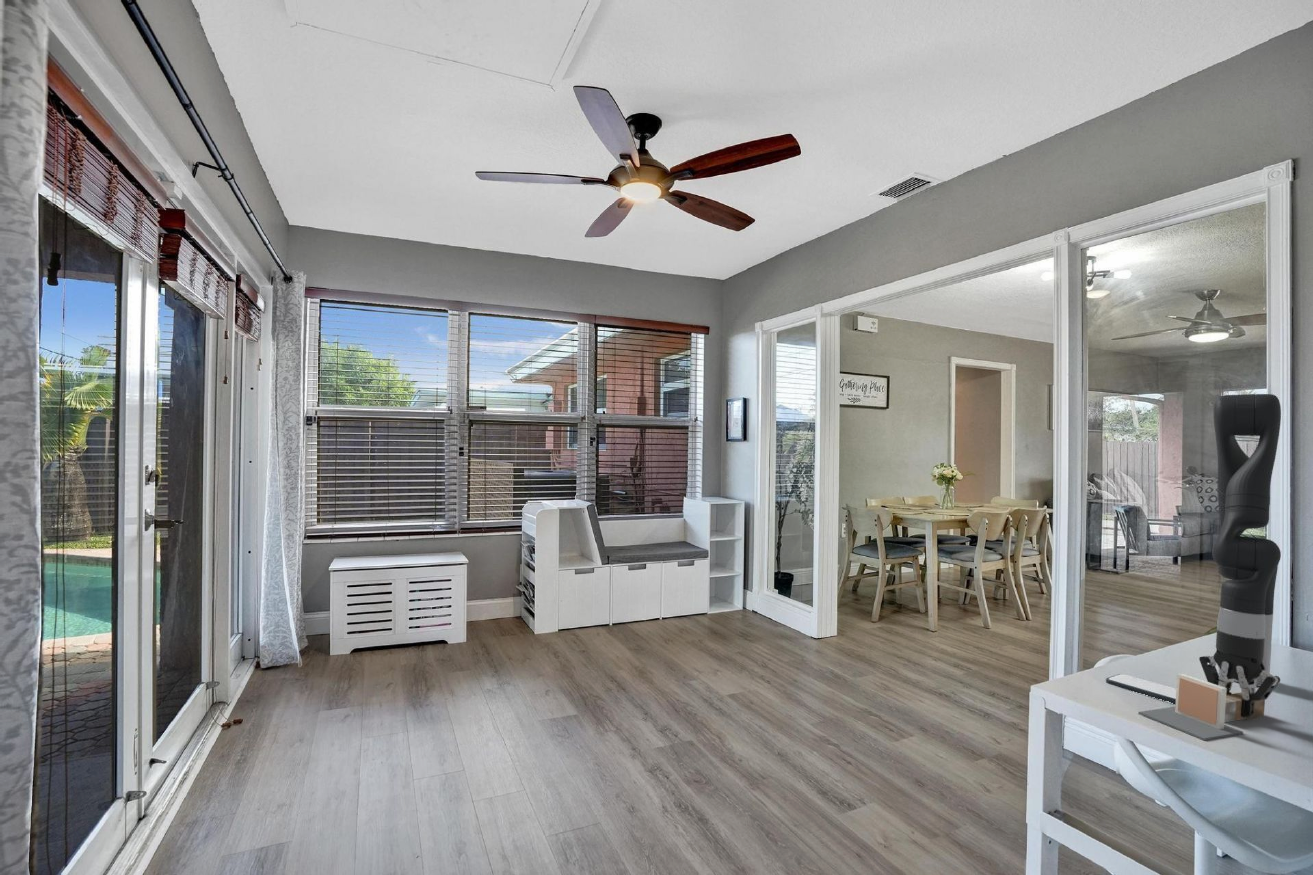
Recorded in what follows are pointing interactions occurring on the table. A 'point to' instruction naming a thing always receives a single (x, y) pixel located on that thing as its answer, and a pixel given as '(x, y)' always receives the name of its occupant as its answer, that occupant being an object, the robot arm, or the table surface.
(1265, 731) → the table surface
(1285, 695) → the table surface
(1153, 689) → the phone case
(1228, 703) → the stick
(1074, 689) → the table surface
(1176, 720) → the mat
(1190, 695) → the tile
